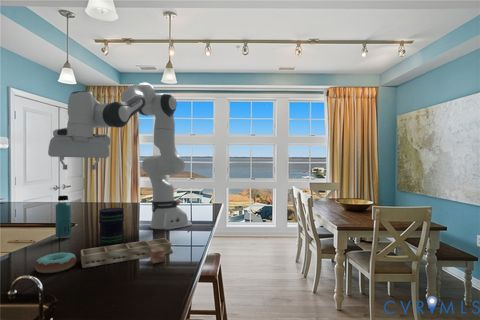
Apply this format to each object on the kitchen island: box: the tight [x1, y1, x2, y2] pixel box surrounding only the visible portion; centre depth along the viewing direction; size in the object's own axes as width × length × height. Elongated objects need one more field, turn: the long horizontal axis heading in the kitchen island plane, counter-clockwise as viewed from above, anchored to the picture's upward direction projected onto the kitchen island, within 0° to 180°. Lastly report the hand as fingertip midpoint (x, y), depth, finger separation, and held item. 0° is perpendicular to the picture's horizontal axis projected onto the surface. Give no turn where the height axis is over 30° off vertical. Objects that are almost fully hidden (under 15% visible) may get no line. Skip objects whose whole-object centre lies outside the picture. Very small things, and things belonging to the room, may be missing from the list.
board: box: [80, 237, 173, 269], centre depth 111 cm, size 31×10×4 cm, turn 121°
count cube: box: [149, 248, 166, 264], centre depth 105 cm, size 4×4×4 cm
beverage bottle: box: [55, 195, 72, 238], centre depth 137 cm, size 6×7×20 cm
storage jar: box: [98, 207, 125, 247], centre depth 127 cm, size 10×10×15 cm
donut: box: [34, 252, 77, 274], centre depth 99 cm, size 12×12×4 cm
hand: (79, 169), depth 111 cm, fingers open, 8 cm apart
